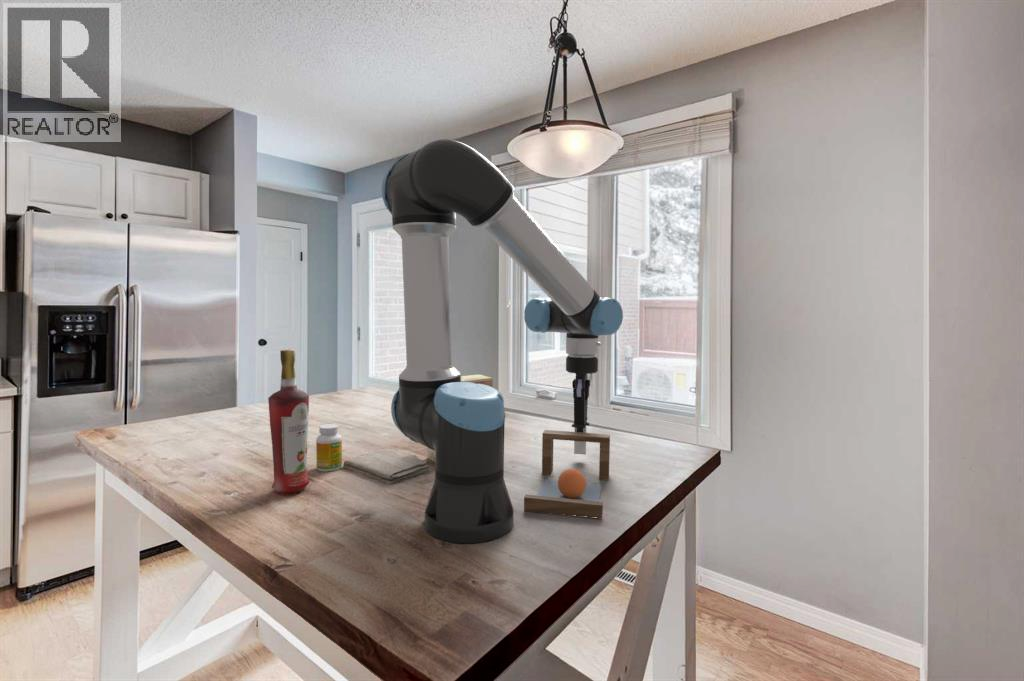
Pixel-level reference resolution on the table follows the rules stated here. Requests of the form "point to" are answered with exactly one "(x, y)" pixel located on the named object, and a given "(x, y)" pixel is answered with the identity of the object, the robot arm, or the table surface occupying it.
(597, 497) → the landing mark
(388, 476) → the washcloth
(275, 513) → the table surface
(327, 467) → the supplement bottle
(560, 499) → the stop rail
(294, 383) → the liquor
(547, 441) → the bridge
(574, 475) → the ball
